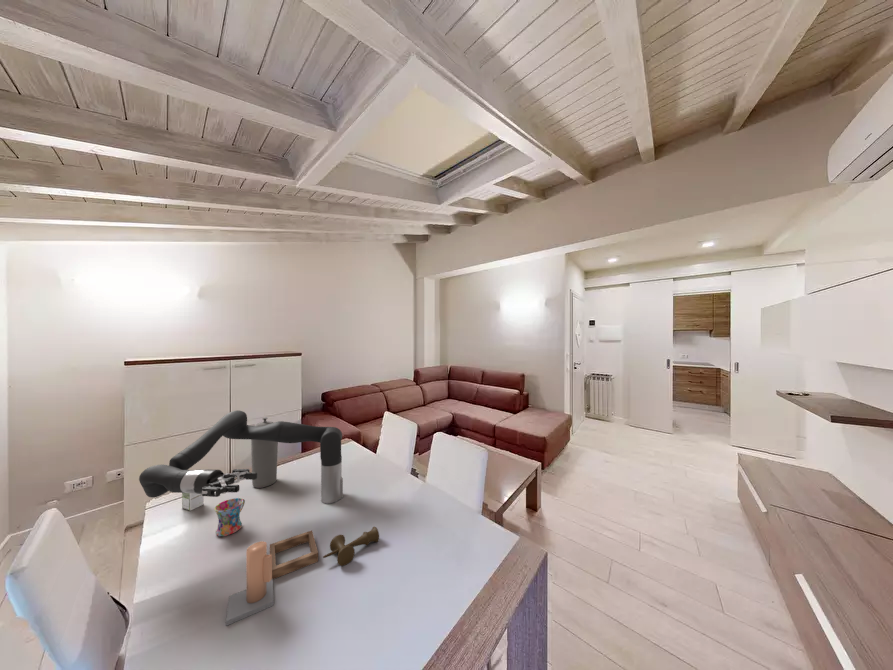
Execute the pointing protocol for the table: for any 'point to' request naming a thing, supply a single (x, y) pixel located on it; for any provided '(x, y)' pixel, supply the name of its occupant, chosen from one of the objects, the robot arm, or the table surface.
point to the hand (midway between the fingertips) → (248, 482)
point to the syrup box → (192, 501)
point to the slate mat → (247, 605)
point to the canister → (264, 460)
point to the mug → (229, 516)
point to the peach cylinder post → (257, 571)
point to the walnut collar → (297, 562)
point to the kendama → (350, 546)
